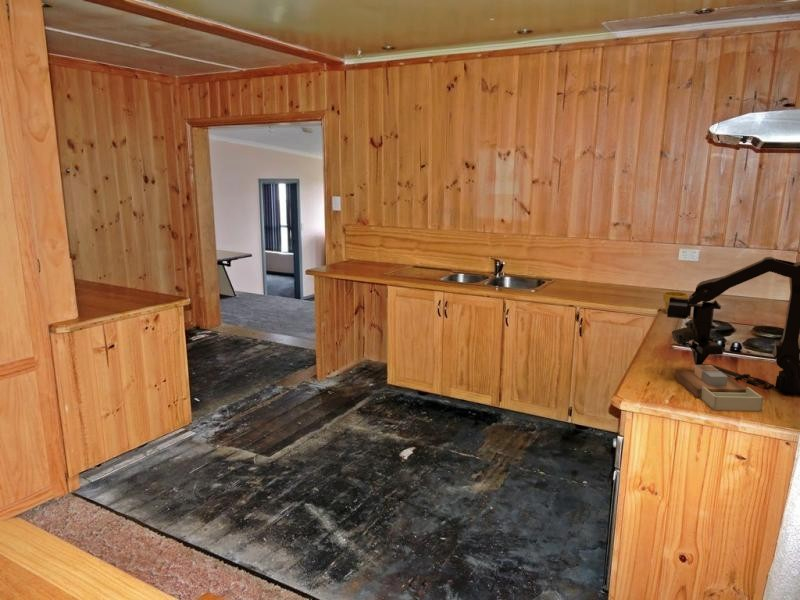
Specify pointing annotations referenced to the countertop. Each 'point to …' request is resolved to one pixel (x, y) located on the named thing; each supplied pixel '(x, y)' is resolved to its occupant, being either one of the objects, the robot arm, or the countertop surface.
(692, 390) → the board
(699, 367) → the cream block
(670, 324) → the countertop surface
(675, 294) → the plant pot
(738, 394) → the tray
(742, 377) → the knife
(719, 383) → the grey block
